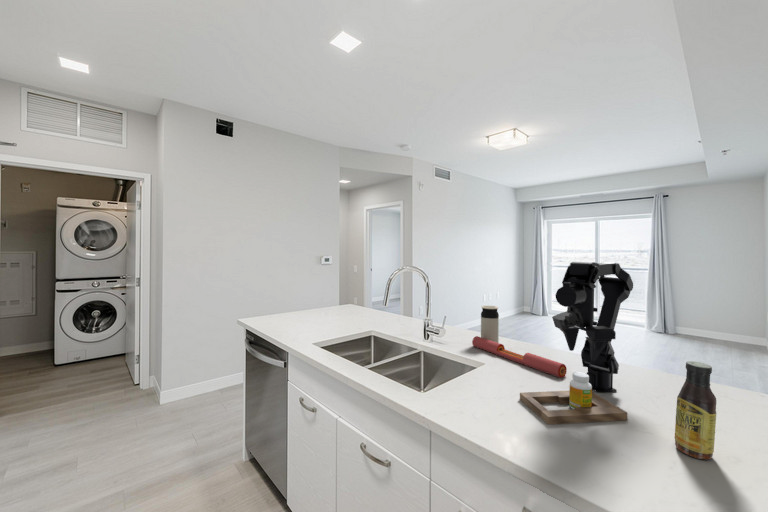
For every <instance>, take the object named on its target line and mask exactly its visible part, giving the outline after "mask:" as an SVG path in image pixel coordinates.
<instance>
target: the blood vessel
mask: <svg viewBox="0 0 768 512" xmlns="http://www.w3.org/2000/svg"><path fill="white" fill-rule="evenodd" d="M471 340H472V342H471V344H472V346H473V347H474V346H475V348H477V347H478V348H477V349H479V348H480V350H482V349H483V350H482V351H485V350H486V351H485V352H487V353H490V352H491V354H493V353H494V355H496V356H499V357H501V356H502V358H504V357H505V359H507V360H510V361H512V360H513V362H516V363H518V364H521V365H523V364H524V366H526V367H529V368H531V367H532V369H534V368H535V369H534V370H537V371H540V372H542V371H543V372H542V373H546V374H547V375H551V376H553V375H554V376H553V377H556V378H560V379H561V378H564V377H565V376H566V375H567V373H568V372H567V370H568V369H567V365H566V364H564V363H561V362H558V361H555V360H552V359H549V358H547V357H542V356H540V355H536V354H533V353H530V352H525V353H524V354H523V355H522V354H519V353H516V352H513V351H511V350H508V349H506V348H505V345H504V344H502V343H499V342H498V343H497V342H494V341H491V340H487V339H484V338H481V336H477V335H476V336H474V337H473V339H471Z"/></svg>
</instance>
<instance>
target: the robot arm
mask: <svg viewBox="0 0 768 512" xmlns="http://www.w3.org/2000/svg"><path fill="white" fill-rule="evenodd" d="M612 275H614V276H612ZM597 281H598V283H599V285H600V291H601V293H602V295H603V297H604V298H603V302H602V306H601V309H600V313H599V316H598V320H597V321H595V320H594V319H595V318H594V317H595V312H598V307H595V289H596V288H597V285H596V283H597ZM561 284H562V286H561V287H559V288H558V289H557V291H556V293H555V300H556V302H557V303H558V304H559V305H560V306H563V307H565V308H566V307H567V308H566V309H567V310H566V311H563V312H560V313H558V314H555V315H553V316H551V318H552V321H553V324H554V327H555V328H557V329H558V330H560V331H561V332H562V333H563V335H564V337H565V340H566V343H567V346H568V349H569V351H571V352H573V351H574V350H575V347H576V343H577V340H578V335H579V331H580V330H581V331H584V332H585V334H586V336H585V340H584V345H583V348H582V349H581V353H580V357H581V363H582V367H584V368H587V372H586V374H587V375H589V381H588V382H589V383H590V384H591V385H592V391H595V392H597V393H612V392H613V393H614V392H617V391H618V390H617V389H616V388H614V387H613V386H614V385H613V383H614V382H613V381H614V378H613V377H614V375H618V373H619V367H620V365H619V363H618V361H617V358H616V357H615V353H616V352H615V350H614V348H613V346H612V340H616V337H617V335H616V331H615V328H616V327H615V326H616V323H617V320H618V315H619V313H620V308H621V304H622V303H624V302H625V300H627V299H628V298H630V294H631V292H632V291H633V289H634V282H633V279H632V277H631V275H630V273H629V272H627V271H626V270H624V269H623V268H622V267H621V265H620V263H617V262H615V261H612V262H611V261H603V262H599V263H598V262H594V261H593V262H592V261H571V262H570V263H569V265H568V266H567V269H566V271H565V274H564V275H563V277H562V282H561Z"/></svg>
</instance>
